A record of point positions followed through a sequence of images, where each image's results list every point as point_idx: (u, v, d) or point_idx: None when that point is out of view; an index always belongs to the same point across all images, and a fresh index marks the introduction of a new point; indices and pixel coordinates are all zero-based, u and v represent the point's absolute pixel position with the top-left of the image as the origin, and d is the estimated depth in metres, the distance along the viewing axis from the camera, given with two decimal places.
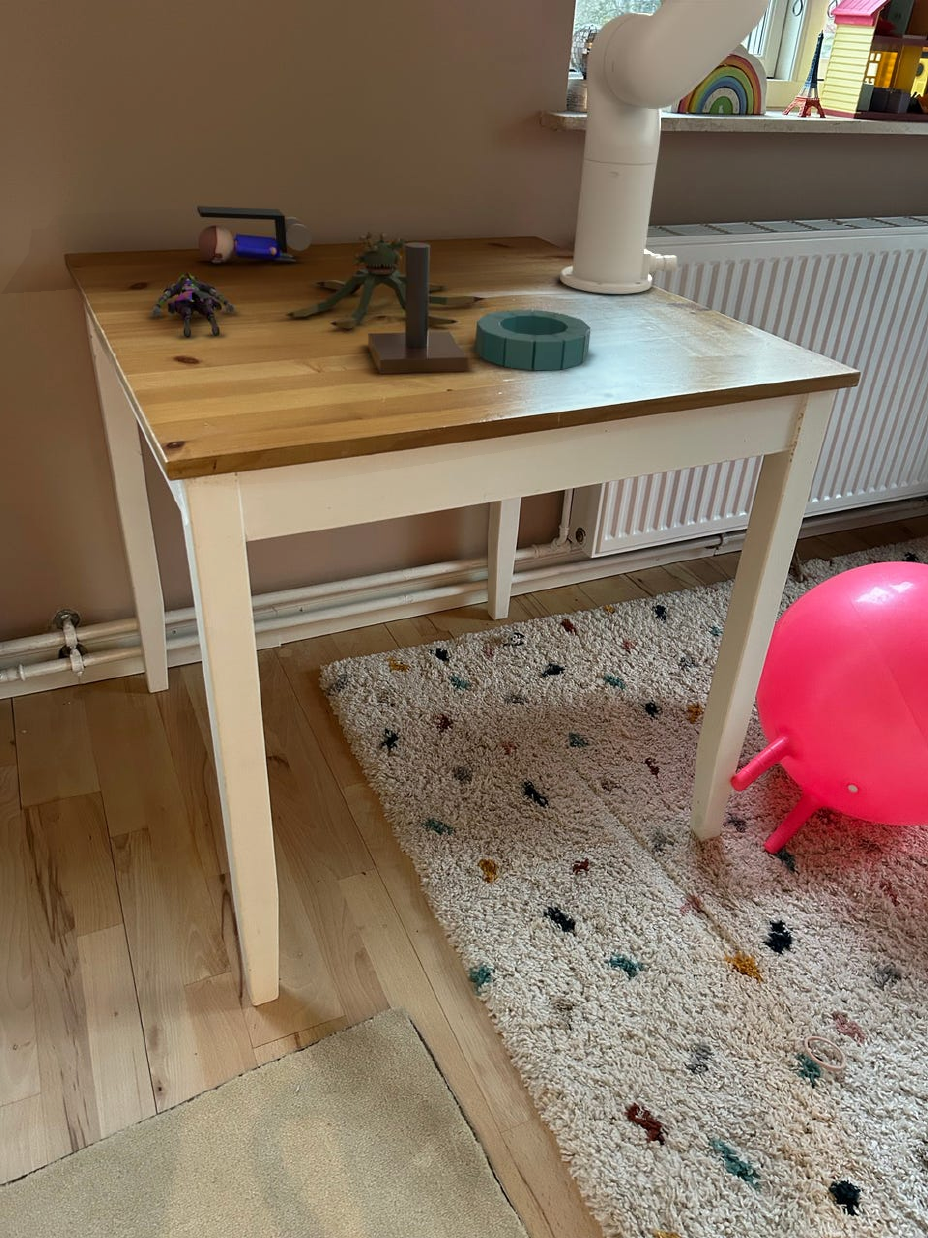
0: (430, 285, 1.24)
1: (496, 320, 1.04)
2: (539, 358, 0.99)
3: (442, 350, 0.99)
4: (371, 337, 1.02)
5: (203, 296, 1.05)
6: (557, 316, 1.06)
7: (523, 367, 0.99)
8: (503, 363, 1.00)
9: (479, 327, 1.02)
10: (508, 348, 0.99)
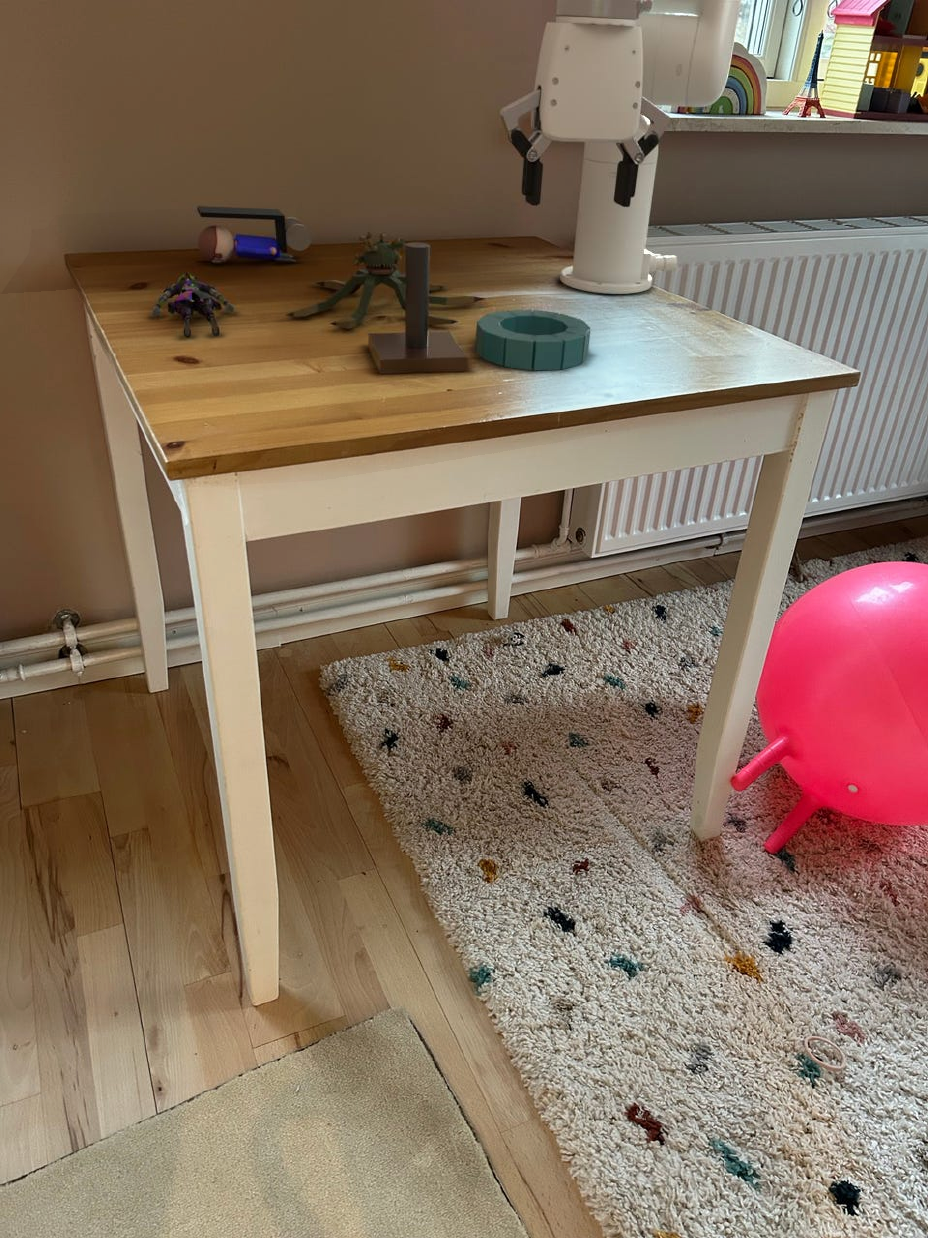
0: (430, 285, 1.24)
1: (496, 320, 1.04)
2: (539, 358, 0.99)
3: (442, 350, 0.99)
4: (371, 337, 1.02)
5: (203, 296, 1.05)
6: (557, 316, 1.06)
7: (523, 367, 0.99)
8: (503, 363, 1.00)
9: (479, 327, 1.02)
10: (508, 348, 0.99)
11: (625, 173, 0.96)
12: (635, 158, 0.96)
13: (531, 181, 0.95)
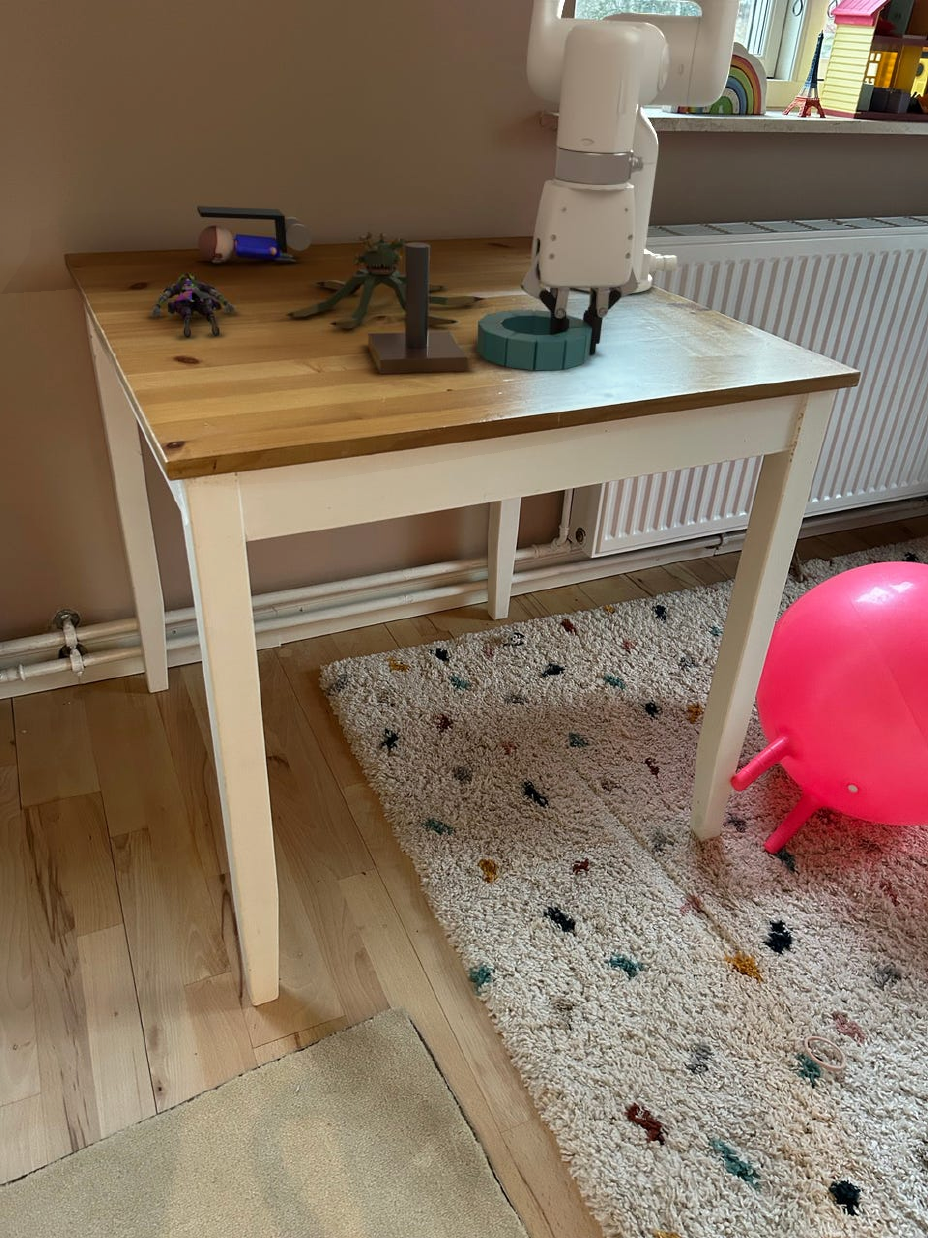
0: (430, 285, 1.24)
1: (497, 320, 1.04)
2: (541, 359, 0.99)
3: (442, 350, 0.99)
4: (371, 337, 1.02)
5: (203, 296, 1.05)
6: None
7: (525, 367, 0.99)
8: (505, 363, 1.00)
9: (480, 327, 1.02)
10: (510, 348, 0.99)
11: (590, 325, 1.03)
12: (599, 310, 1.02)
13: None
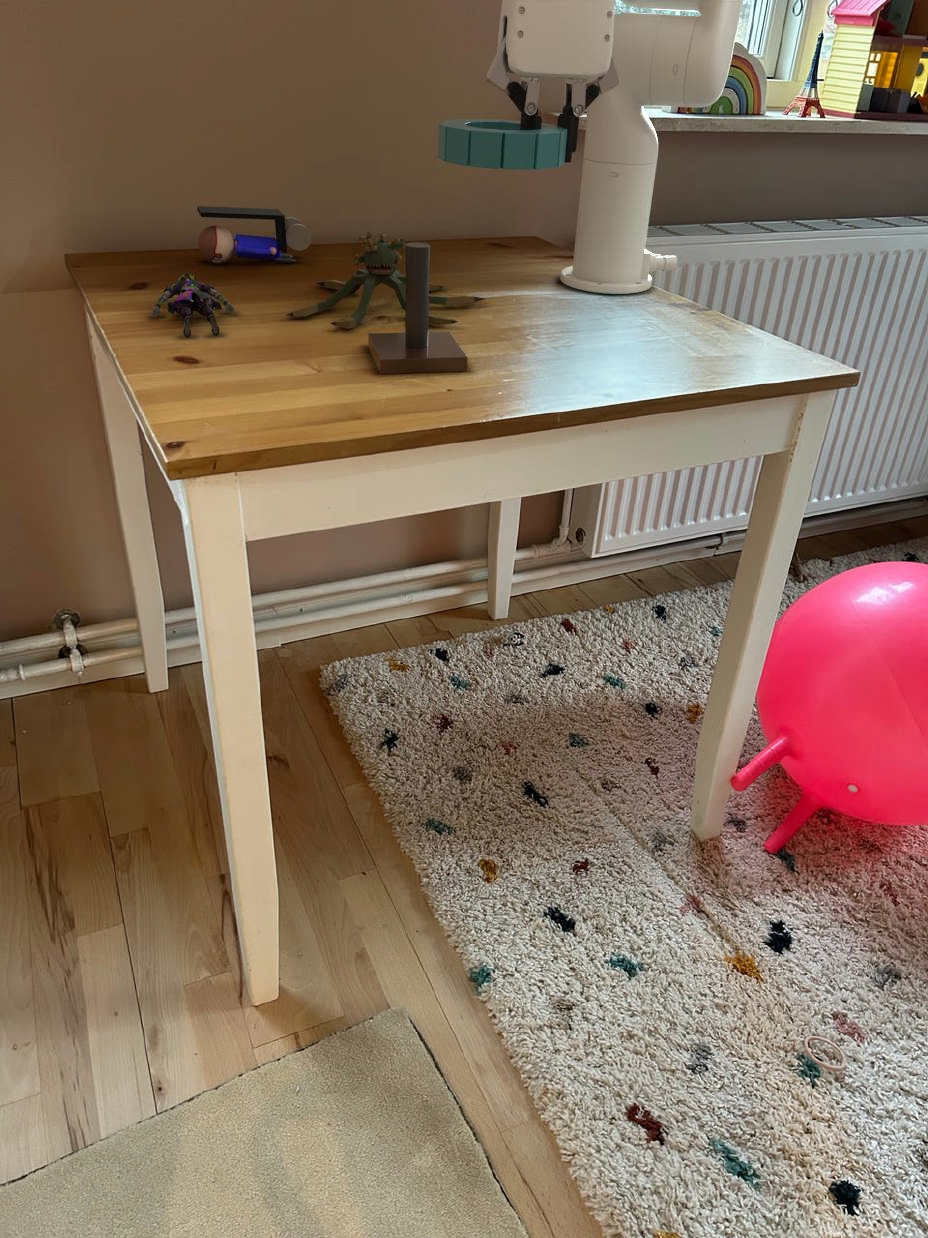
0: (430, 285, 1.24)
1: (461, 122, 0.92)
2: (509, 154, 0.87)
3: (442, 350, 0.99)
4: (371, 337, 1.02)
5: (203, 296, 1.05)
6: None
7: (491, 165, 0.87)
8: (468, 162, 0.88)
9: (441, 126, 0.90)
10: (474, 142, 0.87)
11: (565, 126, 0.91)
12: (575, 107, 0.90)
13: None
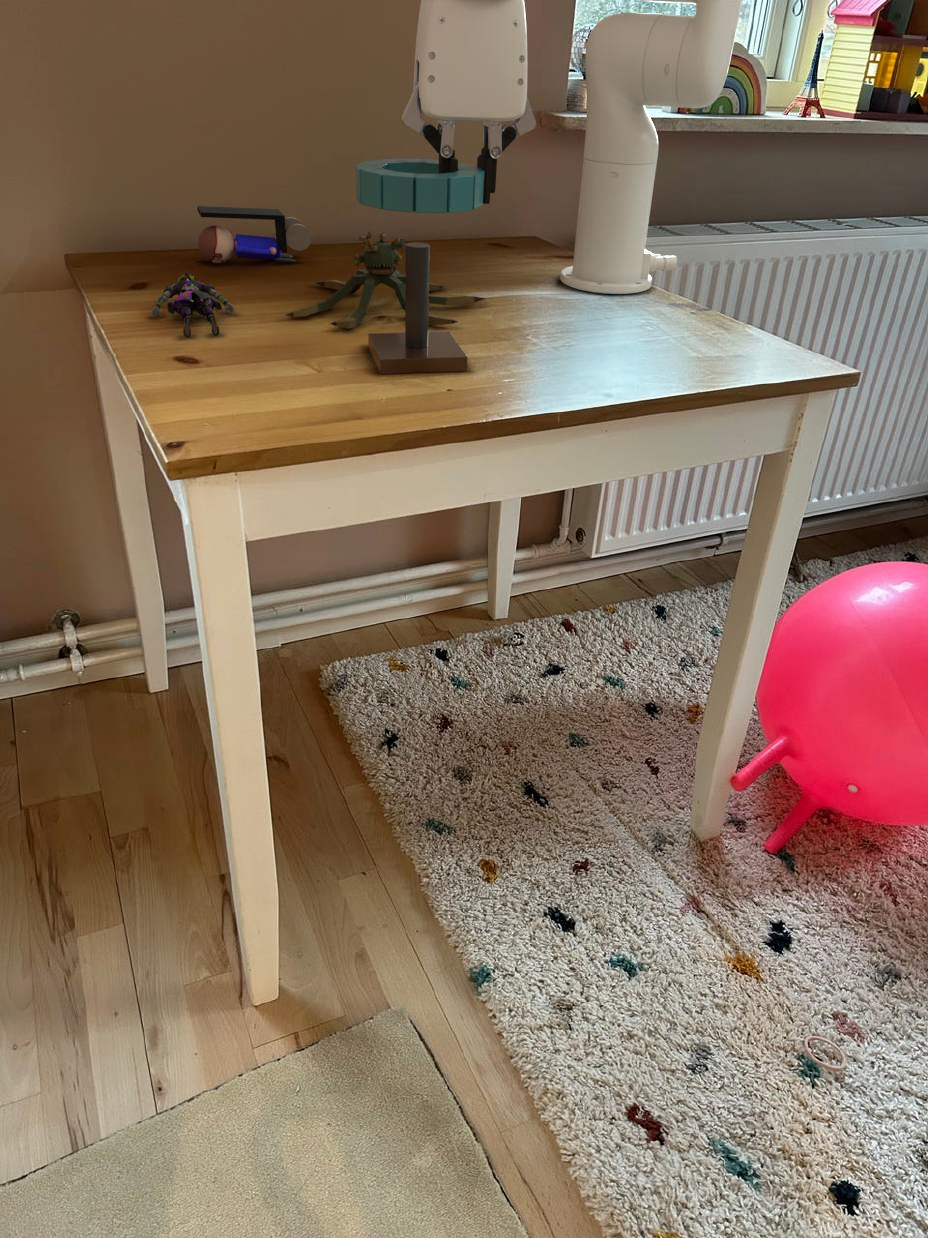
0: (430, 285, 1.24)
1: (379, 163, 0.92)
2: (421, 198, 0.87)
3: (442, 350, 0.99)
4: (371, 337, 1.02)
5: (203, 296, 1.05)
6: None
7: (403, 209, 0.87)
8: (382, 206, 0.88)
9: (357, 168, 0.90)
10: (386, 186, 0.87)
11: (483, 168, 0.91)
12: (492, 150, 0.90)
13: None
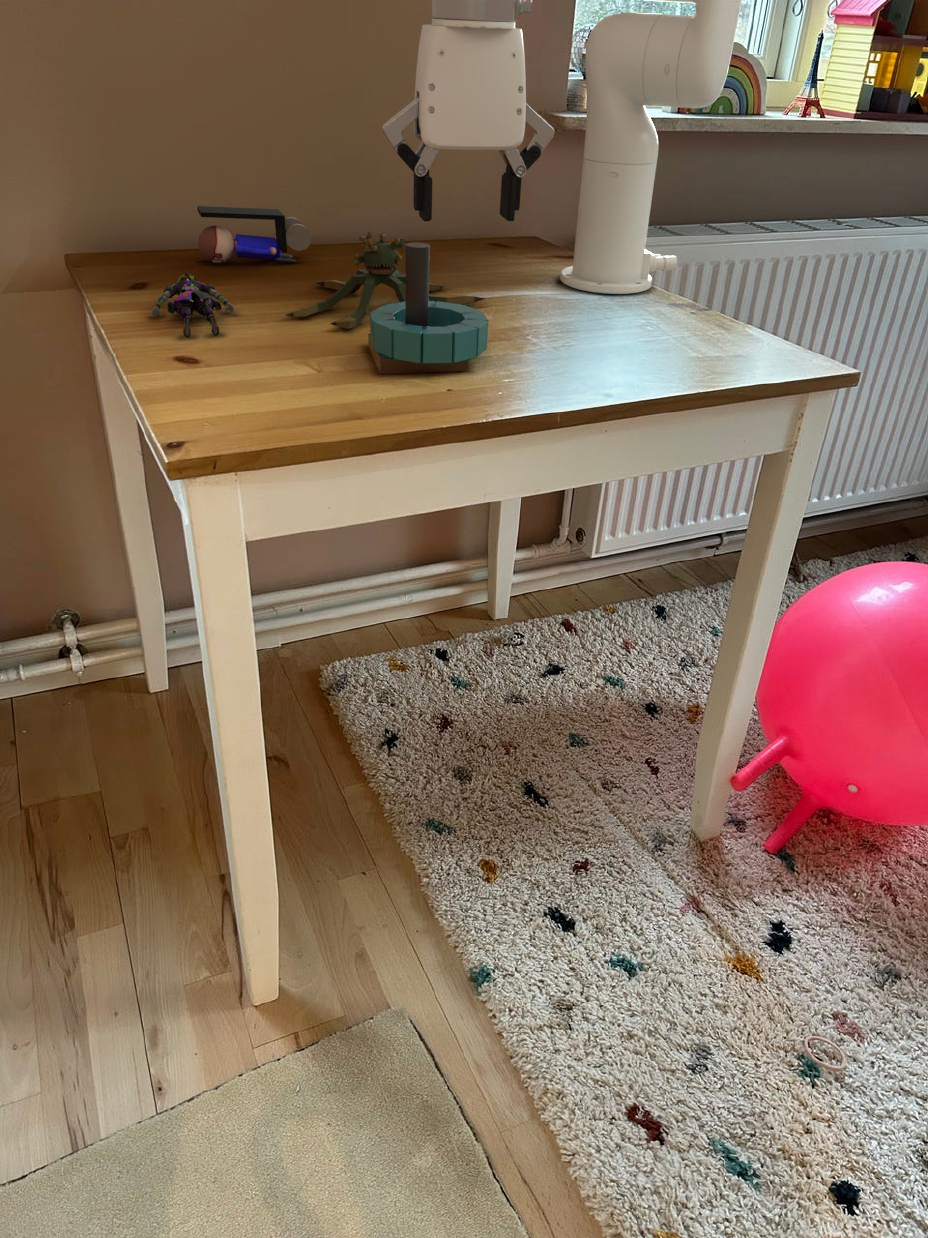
0: (430, 285, 1.24)
1: (391, 310, 1.00)
2: (428, 351, 0.94)
3: None
4: None
5: (203, 296, 1.05)
6: (458, 308, 1.02)
7: (412, 360, 0.95)
8: (392, 355, 0.96)
9: (371, 318, 0.98)
10: (396, 340, 0.95)
11: (507, 186, 0.93)
12: (517, 170, 0.92)
13: (421, 196, 0.92)
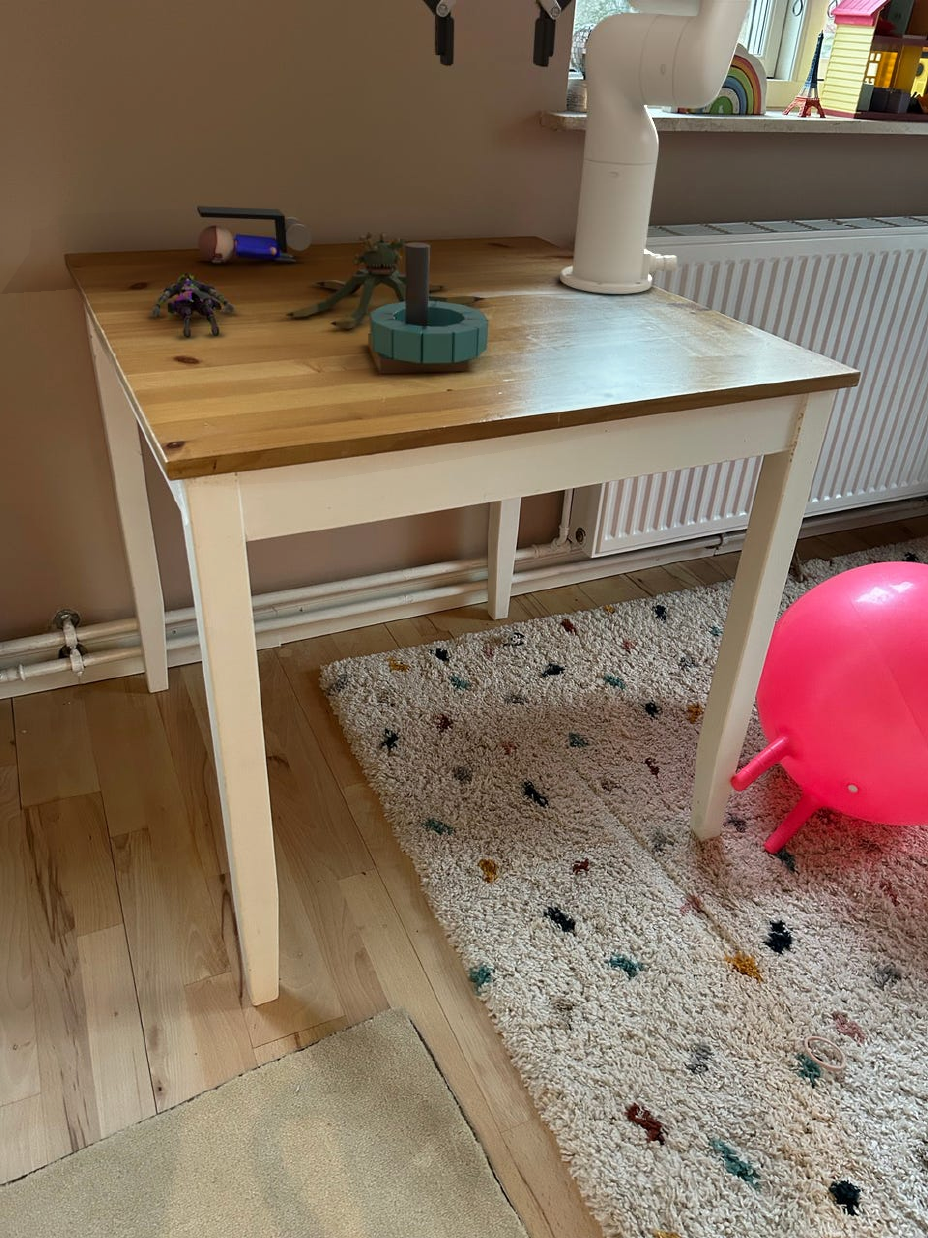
0: (430, 285, 1.24)
1: (391, 310, 1.00)
2: (428, 351, 0.94)
3: None
4: None
5: (203, 296, 1.05)
6: (458, 308, 1.02)
7: (412, 360, 0.95)
8: (392, 355, 0.96)
9: (371, 318, 0.98)
10: (396, 340, 0.95)
11: (542, 29, 0.93)
12: (551, 12, 0.92)
13: (443, 39, 0.91)
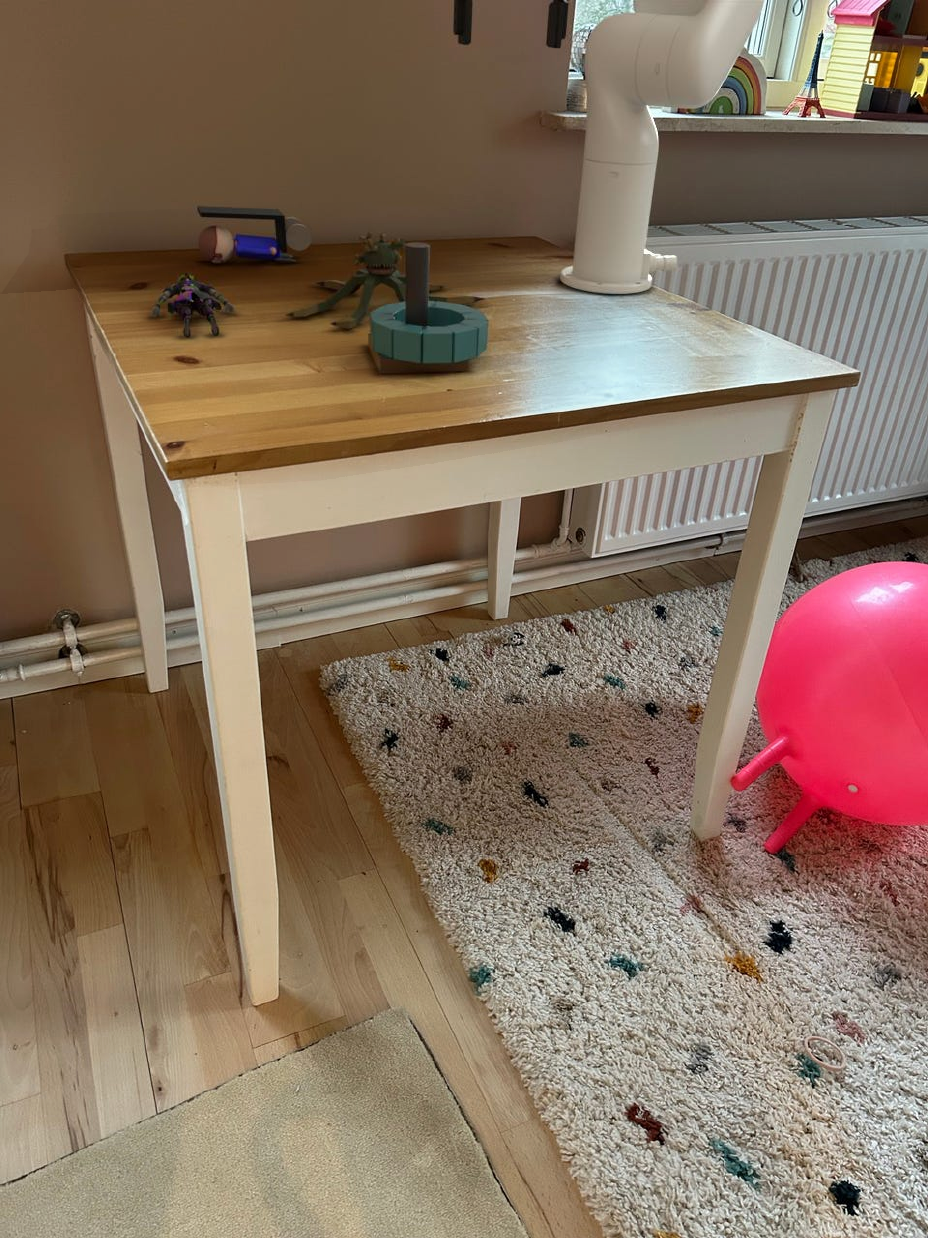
0: (430, 285, 1.24)
1: (391, 310, 1.00)
2: (428, 351, 0.94)
3: None
4: None
5: (203, 296, 1.05)
6: (458, 308, 1.02)
7: (412, 360, 0.95)
8: (392, 355, 0.96)
9: (371, 318, 0.98)
10: (396, 340, 0.95)
11: (555, 12, 0.98)
12: None
13: (461, 19, 0.96)
